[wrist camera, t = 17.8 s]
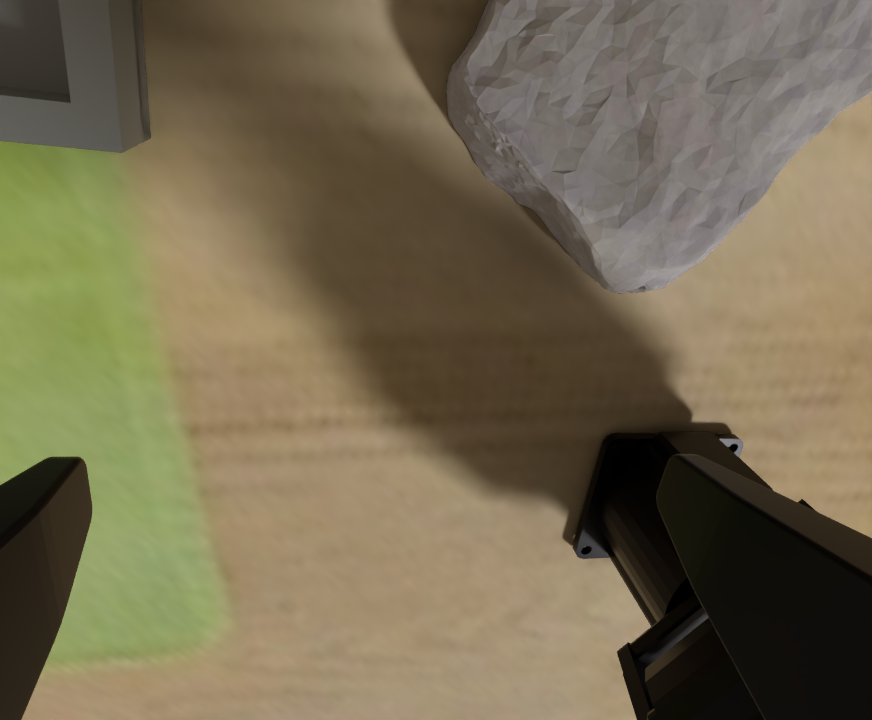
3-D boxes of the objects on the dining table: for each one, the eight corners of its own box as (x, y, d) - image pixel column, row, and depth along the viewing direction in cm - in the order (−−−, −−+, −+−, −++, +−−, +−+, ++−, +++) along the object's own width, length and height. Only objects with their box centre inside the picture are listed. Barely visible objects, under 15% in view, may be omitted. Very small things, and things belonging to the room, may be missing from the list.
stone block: (402, 101, 20) (603, 301, 22) (404, 80, 15) (657, 334, 18) (670, -215, 18) (860, 43, 20) (765, -351, 13) (995, 4, 16)
